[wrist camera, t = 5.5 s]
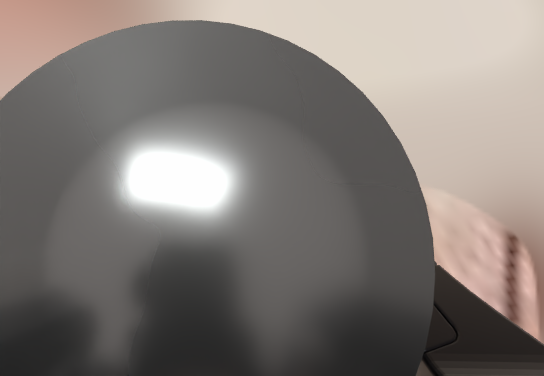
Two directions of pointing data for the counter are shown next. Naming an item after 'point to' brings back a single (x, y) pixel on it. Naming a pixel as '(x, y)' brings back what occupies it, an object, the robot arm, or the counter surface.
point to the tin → (206, 214)
